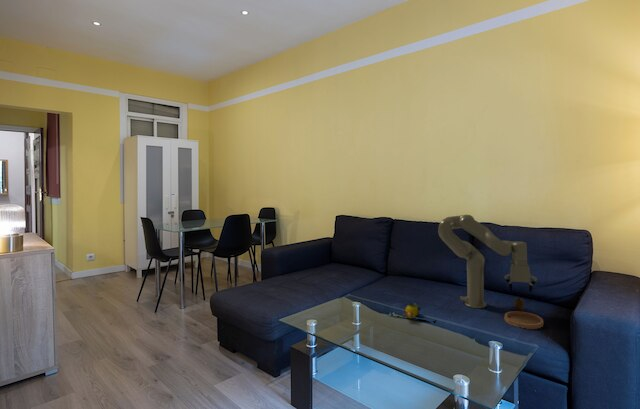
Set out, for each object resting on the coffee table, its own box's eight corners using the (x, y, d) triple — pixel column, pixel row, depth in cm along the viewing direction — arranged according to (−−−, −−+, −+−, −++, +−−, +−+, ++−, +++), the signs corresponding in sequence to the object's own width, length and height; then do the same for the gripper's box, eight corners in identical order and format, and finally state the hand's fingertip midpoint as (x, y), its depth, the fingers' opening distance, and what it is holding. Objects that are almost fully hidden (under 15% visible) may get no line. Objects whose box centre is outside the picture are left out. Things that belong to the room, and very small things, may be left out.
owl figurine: (384, 304, 203) (392, 296, 216) (385, 319, 203) (392, 310, 217) (433, 311, 189) (438, 303, 203) (434, 327, 190) (438, 317, 203)
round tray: (503, 325, 187) (503, 321, 187) (504, 312, 204) (504, 309, 203) (544, 331, 178) (544, 327, 178) (542, 318, 194) (542, 314, 194)
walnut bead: (514, 311, 205) (514, 299, 204) (514, 308, 209) (514, 296, 208) (524, 313, 202) (524, 300, 202) (523, 310, 207) (523, 298, 206)
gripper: (503, 263, 204) (504, 291, 205) (537, 265, 196) (538, 294, 197) (503, 260, 211) (504, 287, 212) (536, 261, 202) (537, 290, 203)
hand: (520, 290), depth 204 cm, fingers open, 9 cm apart
